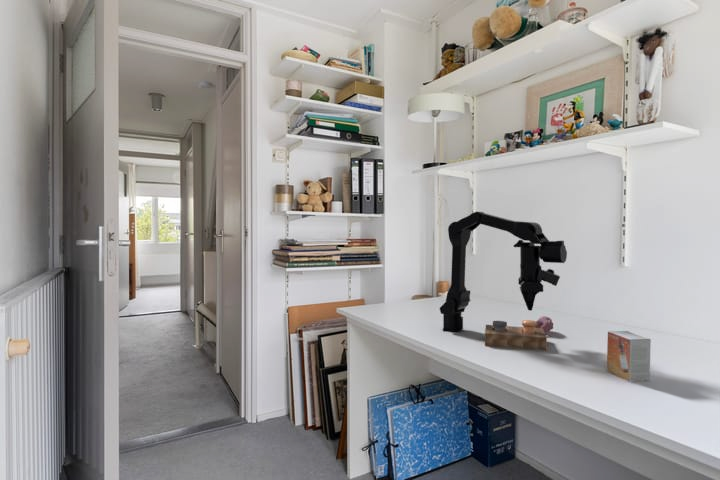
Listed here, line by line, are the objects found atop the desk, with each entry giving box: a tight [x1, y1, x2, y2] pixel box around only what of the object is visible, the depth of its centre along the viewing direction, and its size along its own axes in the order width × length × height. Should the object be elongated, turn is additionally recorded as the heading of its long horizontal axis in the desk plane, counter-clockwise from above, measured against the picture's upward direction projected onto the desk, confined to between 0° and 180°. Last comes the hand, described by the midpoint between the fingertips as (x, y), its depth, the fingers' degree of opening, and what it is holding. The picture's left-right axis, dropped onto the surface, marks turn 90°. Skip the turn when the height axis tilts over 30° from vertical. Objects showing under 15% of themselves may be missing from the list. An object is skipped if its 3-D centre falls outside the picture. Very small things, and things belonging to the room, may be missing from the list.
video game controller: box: [535, 315, 554, 335], centre depth 146 cm, size 10×5×7 cm, turn 169°
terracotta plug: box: [521, 319, 537, 334], centre depth 132 cm, size 4×4×6 cm
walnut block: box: [484, 324, 548, 351], centre depth 133 cm, size 18×12×4 cm, turn 71°
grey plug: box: [492, 320, 508, 332], centre depth 135 cm, size 4×4×6 cm
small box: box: [606, 330, 652, 383], centre depth 103 cm, size 8×6×10 cm
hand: (530, 310), depth 132 cm, fingers closed
